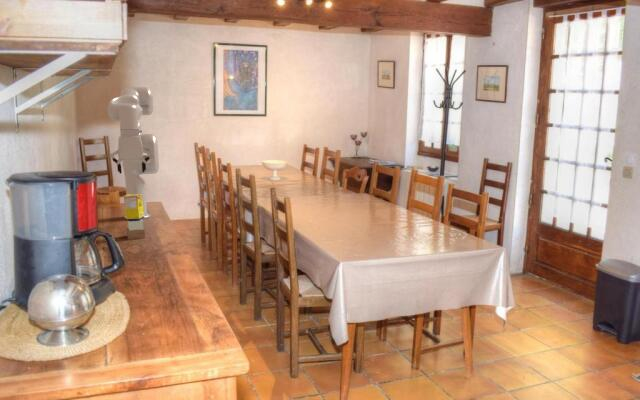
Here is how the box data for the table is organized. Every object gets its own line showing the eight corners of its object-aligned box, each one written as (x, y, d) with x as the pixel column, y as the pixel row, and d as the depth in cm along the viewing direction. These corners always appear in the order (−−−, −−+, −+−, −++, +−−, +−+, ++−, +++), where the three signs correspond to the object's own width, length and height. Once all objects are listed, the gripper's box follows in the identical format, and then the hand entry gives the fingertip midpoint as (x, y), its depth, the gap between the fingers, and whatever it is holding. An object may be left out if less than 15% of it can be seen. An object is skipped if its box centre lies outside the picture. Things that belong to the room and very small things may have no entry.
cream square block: (128, 227, 257) (127, 219, 256) (142, 226, 259) (141, 217, 258) (129, 230, 251) (128, 221, 251) (143, 229, 254) (142, 220, 253)
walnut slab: (127, 236, 258) (126, 227, 257) (143, 234, 261) (142, 226, 260) (128, 240, 252) (127, 231, 251) (145, 238, 254) (144, 229, 253)
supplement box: (144, 217, 257) (142, 193, 256) (139, 220, 251) (137, 195, 250) (131, 218, 258) (128, 193, 256) (126, 220, 252) (123, 195, 250)
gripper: (149, 132, 258) (151, 170, 261) (107, 133, 251) (110, 172, 254) (151, 133, 251) (153, 172, 254) (108, 134, 244) (111, 174, 247)
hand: (132, 172), depth 254 cm, fingers open, 9 cm apart
